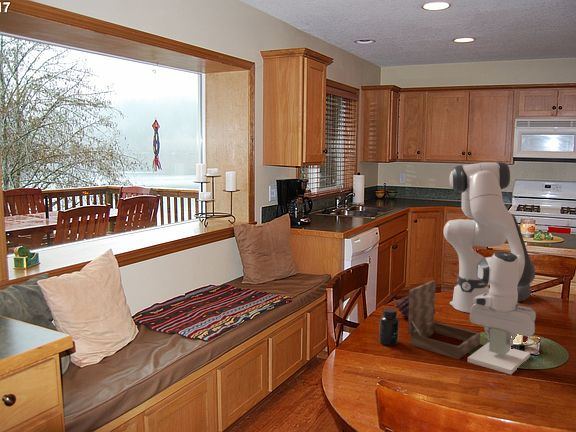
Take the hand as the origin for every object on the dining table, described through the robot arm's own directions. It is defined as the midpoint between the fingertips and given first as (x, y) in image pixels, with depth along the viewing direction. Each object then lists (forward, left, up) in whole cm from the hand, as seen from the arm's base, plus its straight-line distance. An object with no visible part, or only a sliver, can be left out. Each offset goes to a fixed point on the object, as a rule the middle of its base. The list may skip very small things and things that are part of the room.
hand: (499, 342), depth 172 cm
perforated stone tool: (-75, -17, -6) cm, 77 cm away
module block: (0, 0, -3) cm, 3 cm away
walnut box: (0, -19, -6) cm, 20 cm away
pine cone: (-17, -41, -6) cm, 45 cm away
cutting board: (0, 0, -6) cm, 6 cm away
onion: (-16, +1, -6) cm, 17 cm away
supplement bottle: (+12, -35, -6) cm, 37 cm away
